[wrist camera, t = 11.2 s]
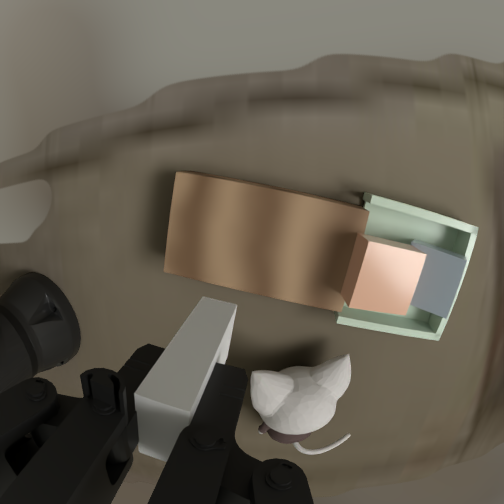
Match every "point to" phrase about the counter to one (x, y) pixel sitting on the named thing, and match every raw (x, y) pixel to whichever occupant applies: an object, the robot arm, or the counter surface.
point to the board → (262, 238)
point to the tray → (404, 231)
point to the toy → (300, 400)
